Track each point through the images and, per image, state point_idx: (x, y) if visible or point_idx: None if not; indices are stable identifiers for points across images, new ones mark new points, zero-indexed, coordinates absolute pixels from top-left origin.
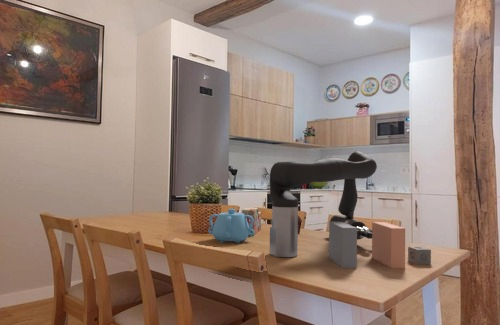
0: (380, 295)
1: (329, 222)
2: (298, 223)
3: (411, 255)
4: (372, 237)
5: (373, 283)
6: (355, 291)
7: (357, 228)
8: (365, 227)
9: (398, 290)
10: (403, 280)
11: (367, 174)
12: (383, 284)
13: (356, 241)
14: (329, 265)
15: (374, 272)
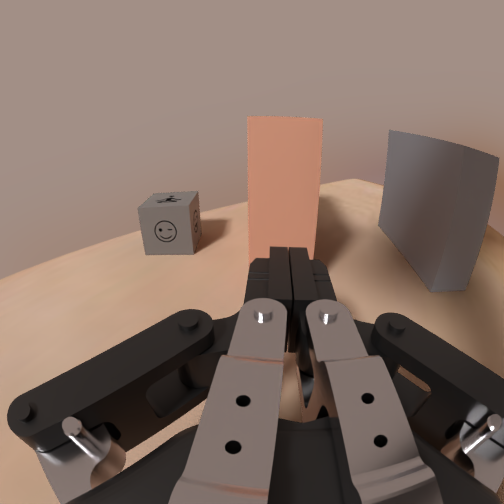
0: (352, 182)
1: (496, 160)
2: None
3: (195, 223)
4: (317, 201)
5: (354, 193)
6: (378, 187)
7: (411, 466)
8: (195, 481)
9: (327, 184)
10: None
11: None
12: (341, 190)
13: (387, 162)
14: None
15: (343, 211)
